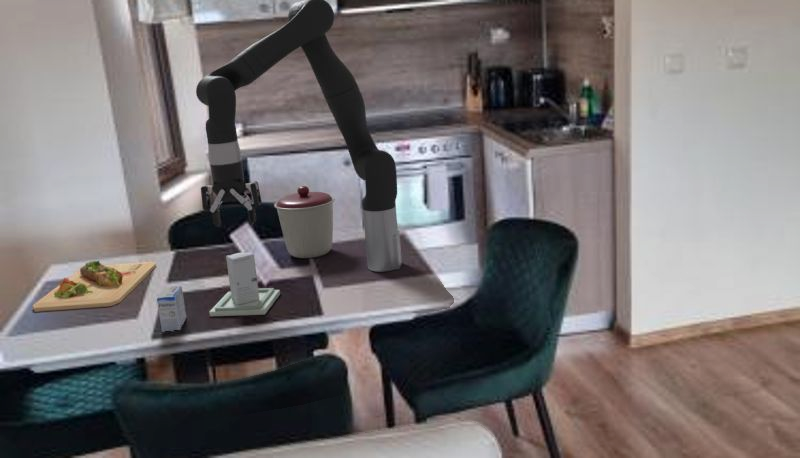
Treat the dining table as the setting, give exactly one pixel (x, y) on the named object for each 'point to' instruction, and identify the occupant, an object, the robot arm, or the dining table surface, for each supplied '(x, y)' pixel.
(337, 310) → the dining table surface
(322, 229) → the canister
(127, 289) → the cutting board
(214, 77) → the robot arm
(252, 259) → the skincare box
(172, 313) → the medicine box
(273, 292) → the light green square tray
